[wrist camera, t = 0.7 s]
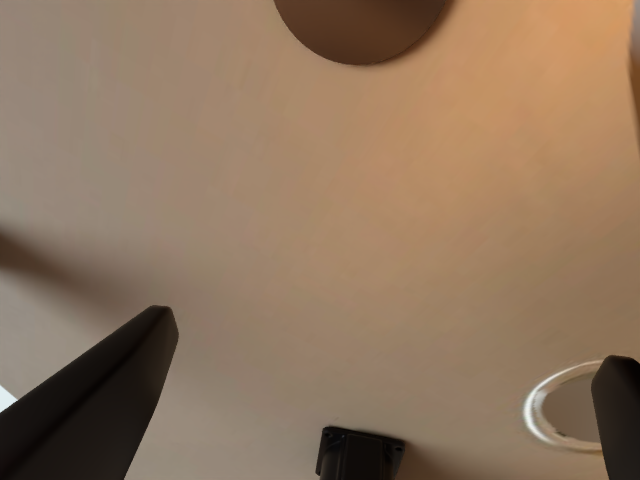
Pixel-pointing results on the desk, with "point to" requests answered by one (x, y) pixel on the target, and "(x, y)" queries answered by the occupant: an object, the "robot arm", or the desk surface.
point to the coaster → (358, 26)
